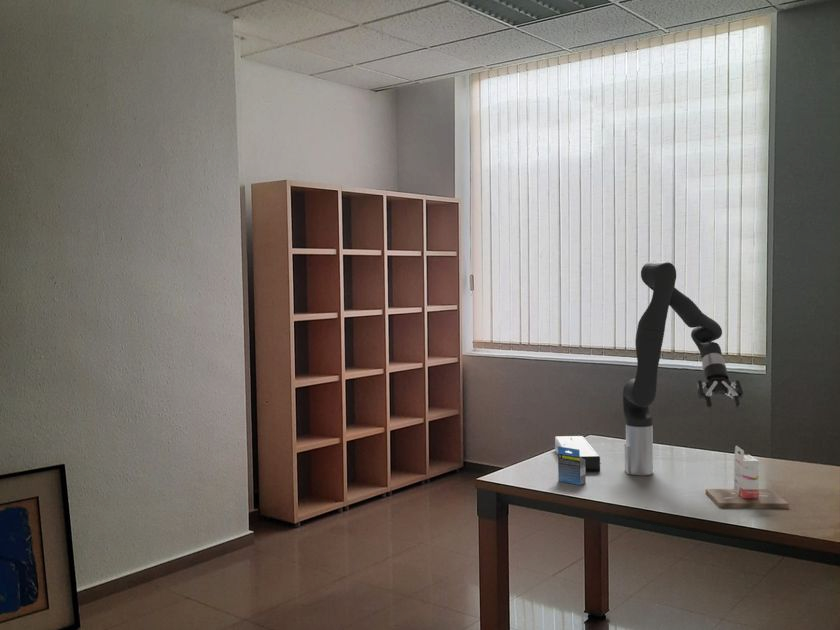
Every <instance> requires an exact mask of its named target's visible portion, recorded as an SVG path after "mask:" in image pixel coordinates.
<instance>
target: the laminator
mask: <svg viewBox="0 0 840 630" xmlns="http://www.w3.org/2000/svg"><path fill="white" fill-rule="evenodd" d="M554 440H555V441H554V447H555V448H554V449H555V452H556V454H557V455H558V446H559V447H566V448H572V449H578V450H579V452H580V457H581V458H583V459H585V473H593V472H594V473H599V472H601V463H602V462H601V456H600V455H599V454H598V452H597V451H595V449H594V448H593V447H592V445H591V444H590V443H589V442H588V441H587V440H586V438H585V437H584V436H583V435H562V436H561V435H560V436H557V435H556V436H554ZM565 452H566V453H572V452H570V451H569V450H568V451H565Z"/></svg>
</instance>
